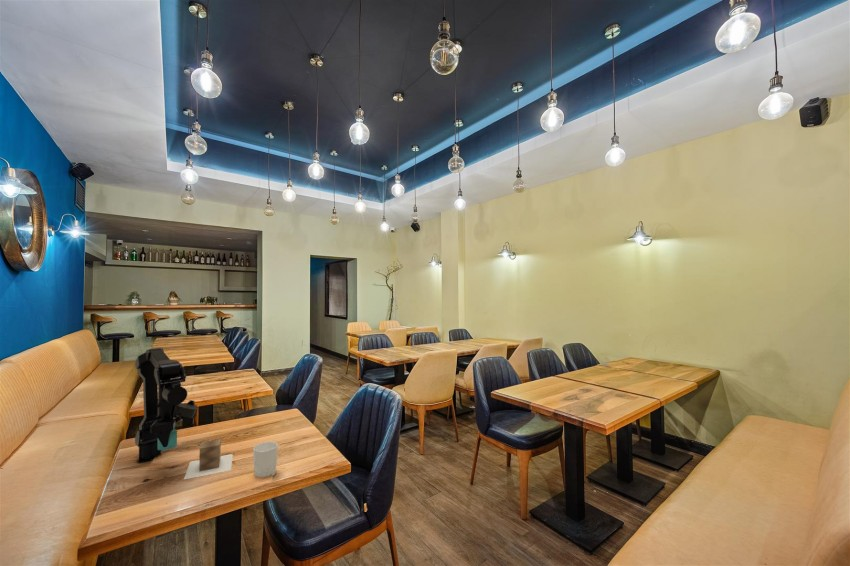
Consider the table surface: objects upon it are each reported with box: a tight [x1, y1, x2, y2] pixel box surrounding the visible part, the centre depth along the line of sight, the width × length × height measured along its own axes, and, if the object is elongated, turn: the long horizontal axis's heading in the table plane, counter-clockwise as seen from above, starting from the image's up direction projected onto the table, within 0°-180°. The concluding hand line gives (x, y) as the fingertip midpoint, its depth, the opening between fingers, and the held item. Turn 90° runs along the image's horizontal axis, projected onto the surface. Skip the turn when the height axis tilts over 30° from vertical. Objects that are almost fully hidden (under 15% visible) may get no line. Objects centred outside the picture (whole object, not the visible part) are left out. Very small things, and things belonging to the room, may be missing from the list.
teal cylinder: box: [157, 428, 178, 451], centre depth 121 cm, size 6×6×5 cm
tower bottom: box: [199, 450, 221, 471], centre depth 127 cm, size 6×6×4 cm
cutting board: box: [183, 453, 234, 481], centre depth 127 cm, size 14×14×1 cm
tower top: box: [199, 438, 222, 460], centre depth 127 cm, size 6×6×4 cm
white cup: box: [252, 441, 279, 478], centre depth 122 cm, size 8×8×10 cm
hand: (167, 443), depth 121 cm, fingers closed on teal cylinder, 5 cm apart
